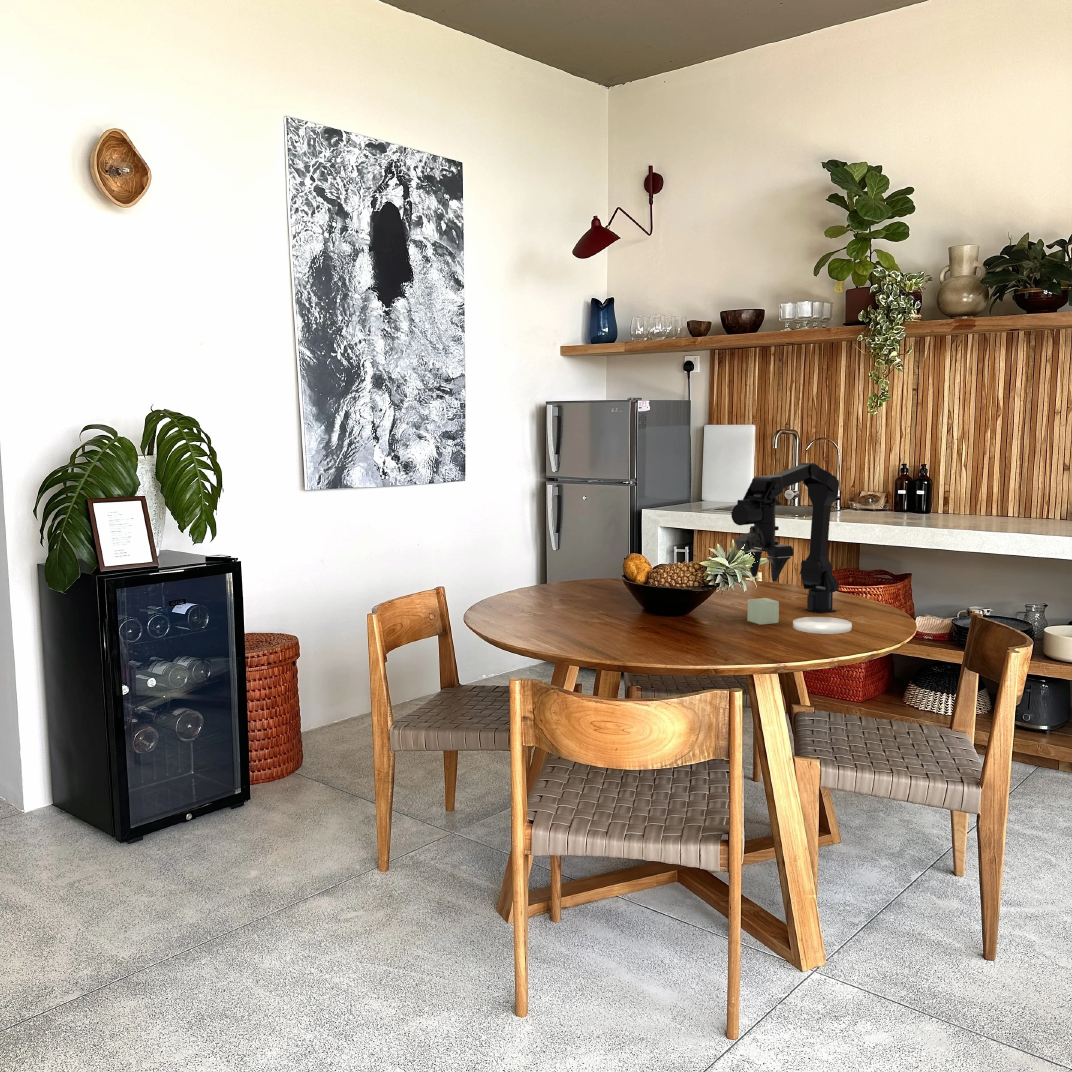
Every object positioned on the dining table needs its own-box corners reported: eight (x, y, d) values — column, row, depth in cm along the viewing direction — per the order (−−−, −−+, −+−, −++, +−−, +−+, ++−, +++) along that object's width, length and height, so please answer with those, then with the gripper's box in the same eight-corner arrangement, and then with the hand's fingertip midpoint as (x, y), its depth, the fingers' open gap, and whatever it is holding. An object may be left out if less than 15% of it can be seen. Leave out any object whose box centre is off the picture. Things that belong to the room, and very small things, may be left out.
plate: (826, 620, 269) (827, 615, 269) (863, 630, 255) (864, 625, 255) (781, 625, 263) (781, 619, 263) (816, 636, 249) (816, 630, 249)
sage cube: (765, 619, 273) (765, 597, 272) (778, 622, 267) (778, 601, 266) (747, 620, 270) (747, 599, 270) (760, 624, 265) (760, 603, 264)
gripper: (720, 521, 271) (720, 576, 273) (760, 527, 254) (759, 586, 255) (753, 519, 275) (753, 573, 277) (795, 525, 258) (794, 583, 260)
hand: (764, 579), depth 267 cm, fingers open, 9 cm apart
